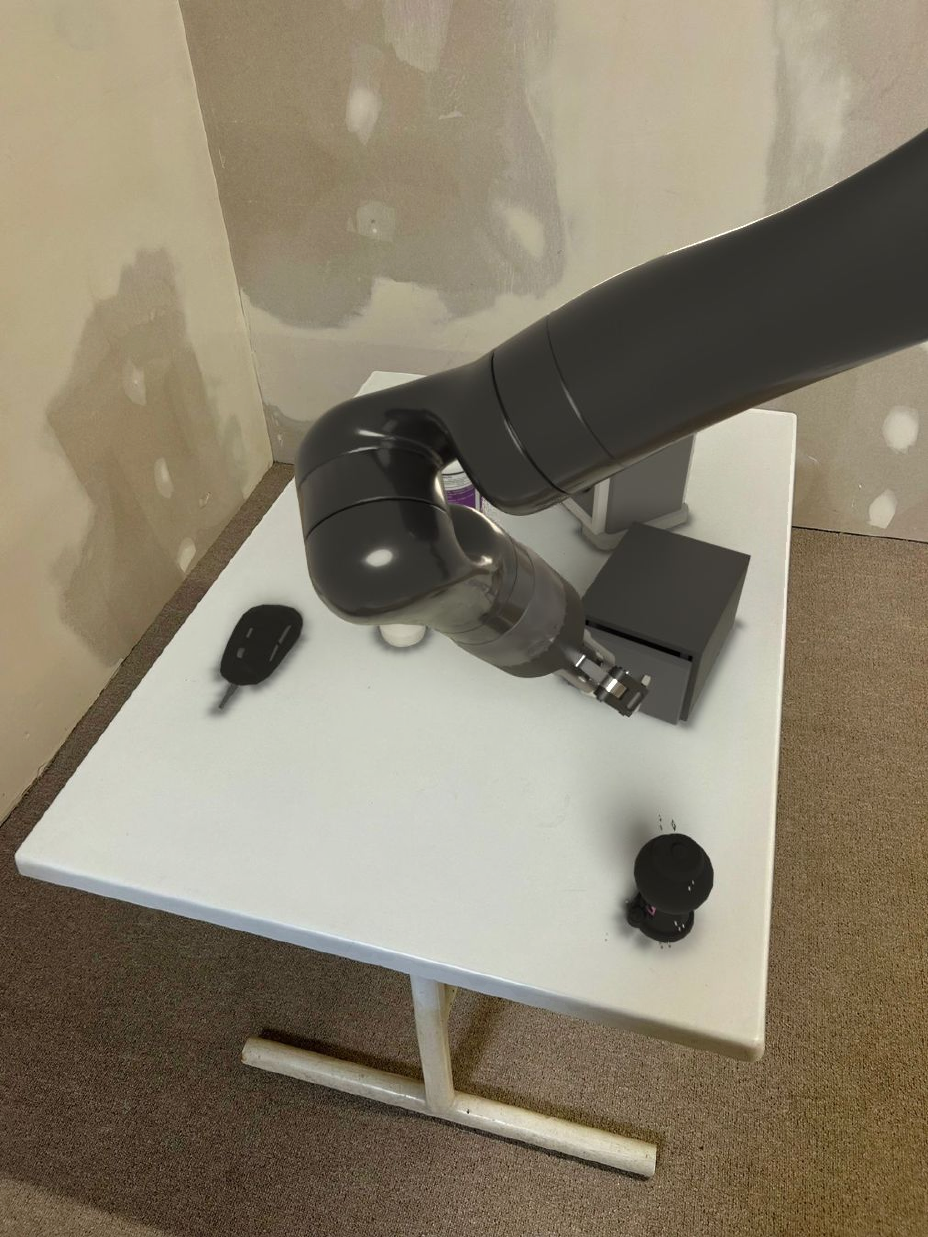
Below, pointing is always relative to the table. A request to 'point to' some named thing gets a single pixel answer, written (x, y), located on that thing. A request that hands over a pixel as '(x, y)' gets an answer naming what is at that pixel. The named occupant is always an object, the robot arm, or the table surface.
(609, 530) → the alarm clock
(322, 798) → the table surface
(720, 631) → the grey drawer cabinet
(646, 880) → the gumball machine
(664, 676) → the open grey drawer
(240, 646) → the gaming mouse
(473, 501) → the pill bottle
